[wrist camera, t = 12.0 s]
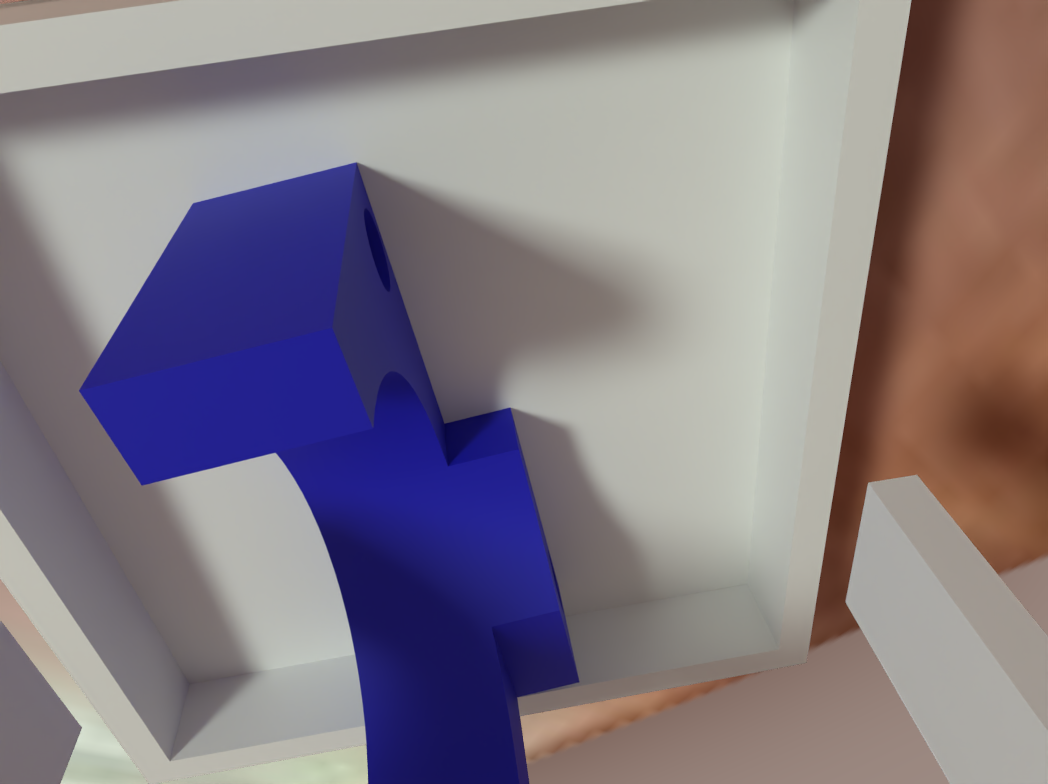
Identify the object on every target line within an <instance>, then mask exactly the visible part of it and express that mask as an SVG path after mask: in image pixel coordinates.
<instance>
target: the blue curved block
mask: <svg viewBox="0 0 1048 784" xmlns="http://www.w3.org/2000/svg"><path fill="white" fill-rule="evenodd" d="M79 392H80V393H81V395H82V396H83V398H84V399H85V401H86V402H87V404H88V405H89V407H90V408H91V410H92V411H93V413H94V414H95V416H96V417H97V419H98V420H99V422H100V423H101V425H102V426H103V428H104V429H105V431H106V432H107V434H108V435H109V437H110V439H111V440H112V442H113V443H114V445H115V446H116V448H117V449H118V451H119V452H120V454H121V455H122V457H123V458H124V460H125V461H126V463H127V464H128V466H129V467H130V469H131V470H132V472H133V473H134V475H135V476H136V478H137V479H138V481H139V482H140V484H141V485H142V486H143V485H147V484H151V483H155V482H159V481H163V480H167V479H171V478H175V477H179V476H183V475H187V474H191V473H195V472H199V471H203V470H208V469H212V468H216V467H220V466H224V465H228V464H232V463H236V462H240V461H244V460H248V459H252V458H256V457H260V456H264V455H268V454H272V453H276V454H277V455H278V457H279V458H280V459H281V460H282V462H283V463H284V464H285V466H286V467H287V469H288V470H289V472H290V473H291V475H292V476H293V478H294V480H295V481H296V483H297V485H298V486H299V488H300V490H301V492H302V493H303V495H304V497H305V499H306V501H307V503H308V505H309V507H310V509H311V511H312V514H313V516H314V518H315V520H316V523H317V525H318V527H319V530H320V532H321V535H322V537H323V540H324V542H325V545H326V548H327V551H328V553H329V556H330V559H331V562H332V565H333V568H334V571H335V575H336V578H337V581H338V584H339V588H340V591H341V595H342V599H343V603H344V606H345V610H346V614H347V619H348V623H349V627H350V632H351V637H352V642H353V646H354V651H355V657H356V663H357V669H358V675H359V681H360V688H361V695H362V703H363V712H364V721H365V732H366V745H367V762H368V784H529V778H528V771H527V764H526V757H525V749H524V742H523V735H522V728H521V721H520V713H519V706H518V699H517V697H521V696H525V695H529V694H533V693H538V692H542V691H546V690H550V689H554V688H558V687H562V686H566V685H571V684H575V683H579V677H578V673H577V668H576V663H575V659H574V654H573V650H572V645H571V640H570V636H569V631H568V627H567V622H566V617H565V613H564V608H563V604H562V599H561V595H560V590H559V585H558V582H557V578H556V574H555V570H554V567H553V563H552V559H551V556H550V552H549V548H548V545H547V541H546V537H545V533H544V530H543V526H542V522H541V519H540V515H539V511H538V508H537V504H536V500H535V496H534V493H533V489H532V485H531V482H530V478H529V474H528V471H527V467H526V463H525V459H524V456H523V452H522V448H521V445H520V441H519V437H518V434H517V430H516V426H515V422H514V419H513V415H512V411H511V408H506V409H502V410H498V411H494V412H490V413H486V414H482V415H477V416H473V417H469V418H465V419H461V420H457V421H453V422H449V423H444V420H443V417H442V414H441V411H440V409H439V406H438V403H437V400H436V397H435V394H434V391H433V388H432V385H431V382H430V379H429V376H428V373H427V370H426V367H425V364H424V361H423V358H422V355H421V352H420V349H419V346H418V343H417V340H416V337H415V334H414V331H413V328H412V325H411V322H410V319H409V316H408V314H407V311H406V308H405V305H404V302H403V299H402V296H401V293H400V290H399V287H398V284H397V281H396V278H395V275H394V272H393V269H392V266H391V263H390V260H389V257H388V254H387V251H386V248H385V245H384V242H383V239H382V236H381V233H380V230H379V227H378V224H377V221H376V218H375V216H374V213H373V210H372V207H371V204H370V201H369V198H368V195H367V192H366V189H365V186H364V183H363V180H362V177H361V174H360V171H359V168H358V165H357V162H355V163H351V164H347V165H343V166H339V167H335V168H332V169H328V170H324V171H320V172H316V173H312V174H308V175H304V176H300V177H296V178H292V179H288V180H284V181H280V182H276V183H272V184H268V185H264V186H260V187H256V188H252V189H248V190H244V191H240V192H236V193H232V194H228V195H224V196H220V197H216V198H212V199H208V200H204V201H200V202H196V203H193V204H192V205H191V207H190V209H189V210H188V212H187V214H186V215H185V217H184V219H183V220H182V222H181V224H180V225H179V227H178V228H177V230H176V232H175V233H174V235H173V237H172V238H171V240H170V242H169V243H168V245H167V247H166V248H165V250H164V251H163V253H162V255H161V256H160V258H159V260H158V261H157V263H156V265H155V266H154V268H153V270H152V271H151V273H150V274H149V276H148V278H147V279H146V281H145V283H144V284H143V286H142V288H141V289H140V291H139V293H138V294H137V296H136V297H135V299H134V301H133V302H132V304H131V306H130V307H129V309H128V311H127V312H126V314H125V316H124V317H123V319H122V320H121V322H120V324H119V325H118V327H117V329H116V330H115V332H114V334H113V335H112V337H111V339H110V340H109V342H108V343H107V345H106V347H105V348H104V350H103V352H102V353H101V355H100V357H99V358H98V360H97V362H96V363H95V365H94V366H93V368H92V370H91V371H90V373H89V375H88V376H87V378H86V380H85V381H84V383H83V385H82V386H81V388H80V389H79Z"/></svg>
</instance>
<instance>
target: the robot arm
mask: <svg viewBox="0 0 1048 784" xmlns="http://www.w3.org/2000/svg"><path fill="white" fill-rule="evenodd" d="M846 604H847V606H848V608H849V609H850V611H851V613H852V615H853V616H854V618H855V620H856V621H857V623H858V625H859V627H860V628H861V630H862V632H863V634H864V635H865V637H866V639H867V641H868V642H869V644H870V646H871V648H872V649H873V651H874V653H875V654H876V656H877V658H878V660H879V661H880V663H881V664H882V667H883V668H884V670H885V672H886V673H887V675H888V677H889V679H890V681H891V682H892V684H893V686H894V687H895V689H896V691H897V693H898V694H899V696H900V698H901V699H902V701H903V703H904V705H905V707H906V708H907V710H908V712H909V713H910V715H911V717H912V719H913V720H914V722H915V724H916V726H917V727H918V729H919V731H920V733H921V734H922V736H923V738H924V739H925V741H926V743H927V745H928V747H929V748H930V750H931V752H932V753H933V755H934V757H935V758H936V760H937V762H938V764H939V766H940V767H941V769H942V771H943V773H944V774H945V776H946V778H947V780H948V781H949V783H950V784H1048V636H1047V635H1046V634H1045V632H1044V631H1043V630H1042V628H1041V627H1040V626H1039V625H1038V623H1037V622H1036V621H1035V620H1034V618H1033V617H1032V616H1031V615H1030V614H1029V612H1028V611H1027V610H1026V609H1025V607H1024V606H1023V605H1022V604H1021V602H1020V601H1019V600H1018V599H1017V598H1016V596H1015V595H1014V594H1013V593H1012V591H1011V590H1010V589H1009V588H1008V586H1007V585H1006V584H1005V583H1004V582H1003V580H1002V579H1001V578H1000V577H999V575H998V574H997V573H996V572H995V570H994V569H993V568H992V567H991V565H990V564H989V563H988V562H987V561H986V559H985V558H984V557H983V556H982V554H981V553H980V552H979V551H978V549H977V548H976V547H975V546H974V545H973V543H972V542H971V541H970V540H969V538H968V537H967V536H966V535H965V533H964V532H963V531H962V530H961V529H960V527H959V526H958V525H957V524H956V522H955V521H954V520H953V519H952V517H951V516H950V515H949V514H948V512H947V511H946V510H945V509H944V508H943V506H942V505H941V504H940V503H939V501H938V500H937V499H936V498H935V496H934V495H933V494H932V493H931V492H930V490H929V489H928V488H927V487H926V485H925V484H924V483H923V482H922V480H921V479H920V478H919V477H918V476H917V475H913V476H907V477H901V478H895V479H888V480H882V481H876V482H869V483H868V486H867V492H866V497H865V502H864V507H863V513H862V518H861V523H860V528H859V534H858V539H857V544H856V549H855V555H854V560H853V565H852V570H851V576H850V581H849V586H848V591H847V597H846ZM81 729H82V727H81V726H80V725H79V723H78V722H77V721H76V719H75V718H74V717H73V715H72V714H71V713H70V711H69V710H68V709H67V707H66V706H65V705H64V704H63V702H62V701H61V700H60V698H59V697H58V696H57V694H56V693H55V692H54V690H53V689H52V688H51V686H50V685H49V684H48V682H47V681H46V680H45V678H44V677H43V676H42V674H41V673H40V672H39V670H38V669H37V668H36V666H35V665H34V664H33V662H32V661H31V660H30V659H29V657H28V656H27V655H26V653H25V652H24V651H23V649H22V648H21V647H20V645H19V644H18V643H17V641H16V640H15V639H14V637H13V636H12V635H11V633H10V632H9V631H8V629H7V628H6V627H5V625H4V624H3V623H2V621H0V784H60V783H61V780H62V778H63V775H64V772H65V770H66V767H67V765H68V762H69V760H70V757H71V754H72V752H73V749H74V747H75V744H76V742H77V739H78V736H79V734H80V731H81Z"/></svg>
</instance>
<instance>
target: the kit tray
mask: <svg viewBox="0 0 1048 784" xmlns="http://www.w3.org/2000/svg"><path fill="white" fill-rule="evenodd" d="M910 7H911V0H27V1H20V2H13V3H5V4H0V579H1V580H2V582H3V583H4V584H5V586H6V587H7V588H8V590H9V591H10V593H11V594H12V595H13V597H14V598H15V600H16V601H17V602H18V604H19V605H20V606H21V608H22V609H23V611H24V612H25V613H26V615H27V616H28V618H29V619H30V620H31V622H32V623H33V624H34V626H35V627H36V629H37V630H38V631H39V633H40V634H41V636H42V637H43V638H44V640H45V641H46V642H47V644H48V645H49V647H50V648H51V649H52V651H53V652H54V653H55V655H56V656H57V658H58V659H59V660H60V662H61V663H62V665H63V666H64V667H65V669H66V670H67V671H68V673H69V674H70V676H71V677H72V678H73V680H74V681H75V683H76V684H77V685H78V687H79V688H80V689H81V691H82V692H83V694H84V695H85V696H86V698H87V699H88V701H89V702H90V703H91V705H92V706H93V707H94V709H95V710H96V712H97V713H98V714H99V716H100V717H101V719H102V720H103V721H104V723H105V724H106V725H107V727H108V728H109V730H110V731H111V732H112V734H113V735H114V737H115V738H116V739H117V741H118V742H119V743H120V745H121V746H122V748H123V749H124V750H125V752H126V753H127V755H128V756H129V757H130V759H131V760H132V761H133V763H134V764H135V766H136V767H137V768H138V770H139V771H140V773H141V774H142V775H143V777H144V778H145V779H146V781H147V782H148V784H156V783H162V782H167V781H173V780H178V779H183V778H189V777H194V776H200V775H205V774H210V773H216V772H221V771H227V770H232V769H237V768H243V767H248V766H254V765H259V764H264V763H270V762H275V761H281V760H286V759H291V758H297V757H302V756H308V755H313V754H319V753H324V752H329V751H335V750H340V749H346V748H351V747H356V746H362V745H366V732H365V721H364V712H363V703H362V695H361V688H360V681H359V675H358V669H357V663H356V657H355V651H354V646H353V642H352V637H351V632H350V627H349V623H348V619H347V614H346V610H345V606H344V603H343V599H342V595H341V591H340V588H339V584H338V581H337V578H336V575H335V571H334V568H333V565H332V562H331V559H330V556H329V553H328V551H327V548H326V545H325V542H324V540H323V537H322V535H321V532H320V530H319V527H318V525H317V523H316V520H315V518H314V516H313V514H312V511H311V509H310V507H309V505H308V503H307V501H306V499H305V497H304V495H303V493H302V492H301V490H300V488H299V486H298V485H297V483H296V481H295V480H294V478H293V476H292V475H291V473H290V472H289V470H288V469H287V467H286V466H285V464H284V463H283V462H282V460H281V459H280V458H279V457H278V455H277V454H276V453H272V454H268V455H264V456H260V457H256V458H252V459H248V460H244V461H240V462H236V463H232V464H228V465H224V466H220V467H216V468H212V469H208V470H203V471H199V472H195V473H191V474H187V475H183V476H179V477H175V478H171V479H167V480H163V481H159V482H155V483H151V484H147V485H143V486H142V485H141V484H140V482H139V481H138V479H137V478H136V476H135V475H134V473H133V472H132V470H131V469H130V467H129V466H128V464H127V463H126V461H125V460H124V458H123V457H122V455H121V454H120V452H119V451H118V449H117V448H116V446H115V445H114V443H113V442H112V440H111V439H110V437H109V435H108V434H107V432H106V431H105V429H104V428H103V426H102V425H101V423H100V422H99V420H98V419H97V417H96V416H95V414H94V413H93V411H92V410H91V408H90V407H89V405H88V404H87V402H86V401H85V399H84V398H83V396H82V395H81V393H80V392H79V389H80V388H81V386H82V385H83V383H84V381H85V380H86V378H87V376H88V375H89V373H90V371H91V370H92V368H93V366H94V365H95V363H96V362H97V360H98V358H99V357H100V355H101V353H102V352H103V350H104V348H105V347H106V345H107V343H108V342H109V340H110V339H111V337H112V335H113V334H114V332H115V330H116V329H117V327H118V325H119V324H120V322H121V320H122V319H123V317H124V316H125V314H126V312H127V311H128V309H129V307H130V306H131V304H132V302H133V301H134V299H135V297H136V296H137V294H138V293H139V291H140V289H141V288H142V286H143V284H144V283H145V281H146V279H147V278H148V276H149V274H150V273H151V271H152V270H153V268H154V266H155V265H156V263H157V261H158V260H159V258H160V256H161V255H162V253H163V251H164V250H165V248H166V247H167V245H168V243H169V242H170V240H171V238H172V237H173V235H174V233H175V232H176V230H177V228H178V227H179V225H180V224H181V222H182V220H183V219H184V217H185V215H186V214H187V212H188V210H189V209H190V207H191V205H192V204H193V203H196V202H200V201H204V200H208V199H212V198H216V197H220V196H224V195H228V194H232V193H236V192H240V191H244V190H248V189H252V188H256V187H260V186H264V185H268V184H272V183H276V182H280V181H284V180H288V179H292V178H296V177H300V176H304V175H308V174H312V173H316V172H320V171H324V170H328V169H332V168H335V167H339V166H343V165H347V164H351V163H355V162H357V165H358V168H359V171H360V174H361V177H362V180H363V183H364V186H365V189H366V192H367V195H368V198H369V201H370V204H371V207H372V210H373V213H374V216H375V218H376V221H377V224H378V227H379V230H380V233H381V236H382V239H383V242H384V245H385V248H386V251H387V254H388V257H389V260H390V263H391V266H392V269H393V272H394V275H395V278H396V281H397V284H398V287H399V290H400V293H401V296H402V299H403V302H404V305H405V308H406V311H407V314H408V316H409V319H410V322H411V325H412V328H413V331H414V334H415V337H416V340H417V343H418V346H419V349H420V352H421V355H422V358H423V361H424V364H425V367H426V370H427V373H428V376H429V379H430V382H431V385H432V388H433V391H434V394H435V397H436V400H437V403H438V406H439V409H440V411H441V414H442V417H443V420H444V423H449V422H453V421H457V420H461V419H465V418H469V417H473V416H477V415H482V414H486V413H490V412H494V411H498V410H502V409H506V408H511V411H512V415H513V419H514V422H515V426H516V430H517V434H518V437H519V441H520V445H521V448H522V452H523V456H524V459H525V463H526V467H527V471H528V474H529V478H530V482H531V485H532V489H533V493H534V496H535V500H536V504H537V508H538V511H539V515H540V519H541V522H542V526H543V530H544V533H545V537H546V541H547V545H548V548H549V552H550V556H551V559H552V563H553V567H554V570H555V574H556V578H557V582H558V585H559V590H560V595H561V599H562V604H563V608H564V613H565V617H566V622H567V627H568V631H569V636H570V640H571V645H572V650H573V654H574V659H575V663H576V668H577V673H578V677H579V683H575V684H571V685H566V686H562V687H558V688H554V689H550V690H546V691H542V692H538V693H533V694H529V695H525V696H521V697H517V699H518V706H519V713H520V716H524V715H529V714H535V713H540V712H545V711H551V710H556V709H562V708H567V707H572V706H578V705H583V704H589V703H594V702H599V701H605V700H610V699H616V698H621V697H626V696H632V695H637V694H643V693H648V692H653V691H659V690H664V689H670V688H675V687H680V686H686V685H691V684H697V683H702V682H707V681H713V680H718V679H724V678H729V677H734V676H740V675H745V674H751V673H756V672H761V671H767V670H772V669H778V668H783V667H788V666H794V665H799V664H805V663H807V656H808V650H809V644H810V637H811V631H812V625H813V618H814V612H815V606H816V600H817V593H818V587H819V581H820V574H821V568H822V562H823V555H824V549H825V543H826V536H827V530H828V524H829V518H830V511H831V505H832V499H833V492H834V486H835V480H836V473H837V467H838V461H839V454H840V448H841V442H842V436H843V429H844V423H845V417H846V410H847V404H848V398H849V391H850V385H851V379H852V372H853V366H854V360H855V354H856V347H857V341H858V335H859V328H860V322H861V316H862V309H863V303H864V297H865V290H866V284H867V278H868V271H869V265H870V259H871V253H872V246H873V240H874V234H875V227H876V221H877V215H878V208H879V202H880V196H881V189H882V183H883V177H884V171H885V164H886V158H887V152H888V145H889V139H890V133H891V126H892V120H893V114H894V107H895V101H896V95H897V89H898V82H899V76H900V70H901V63H902V57H903V51H904V44H905V38H906V32H907V25H908V19H909V13H910Z"/></svg>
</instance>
